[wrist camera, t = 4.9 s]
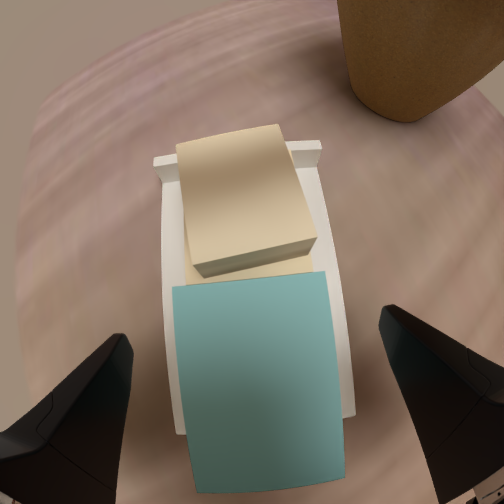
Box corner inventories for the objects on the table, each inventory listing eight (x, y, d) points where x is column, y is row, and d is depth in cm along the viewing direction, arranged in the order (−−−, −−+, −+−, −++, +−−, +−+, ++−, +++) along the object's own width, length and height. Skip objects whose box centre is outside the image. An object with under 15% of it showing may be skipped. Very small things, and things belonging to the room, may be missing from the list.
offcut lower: (305, 282, 16) (313, 271, 13) (196, 293, 16) (185, 284, 13) (287, 172, 18) (290, 149, 16) (192, 182, 18) (183, 160, 15)
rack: (352, 413, 14) (368, 424, 12) (179, 431, 14) (165, 445, 11) (313, 163, 19) (319, 140, 16) (165, 179, 19) (154, 157, 16)
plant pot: (290, 47, 23) (300, -92, 8) (414, 59, 24) (454, -47, 8) (336, 163, 19) (412, -62, 4) (479, 163, 19) (574, 48, 4)
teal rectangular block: (295, 402, 14) (344, 477, 5) (231, 408, 14) (196, 493, 5) (285, 312, 15) (324, 270, 6) (222, 318, 15) (171, 286, 6)
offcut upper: (307, 255, 14) (317, 236, 11) (204, 278, 13) (192, 265, 11) (275, 153, 15) (277, 123, 13) (186, 172, 15) (175, 144, 13)
